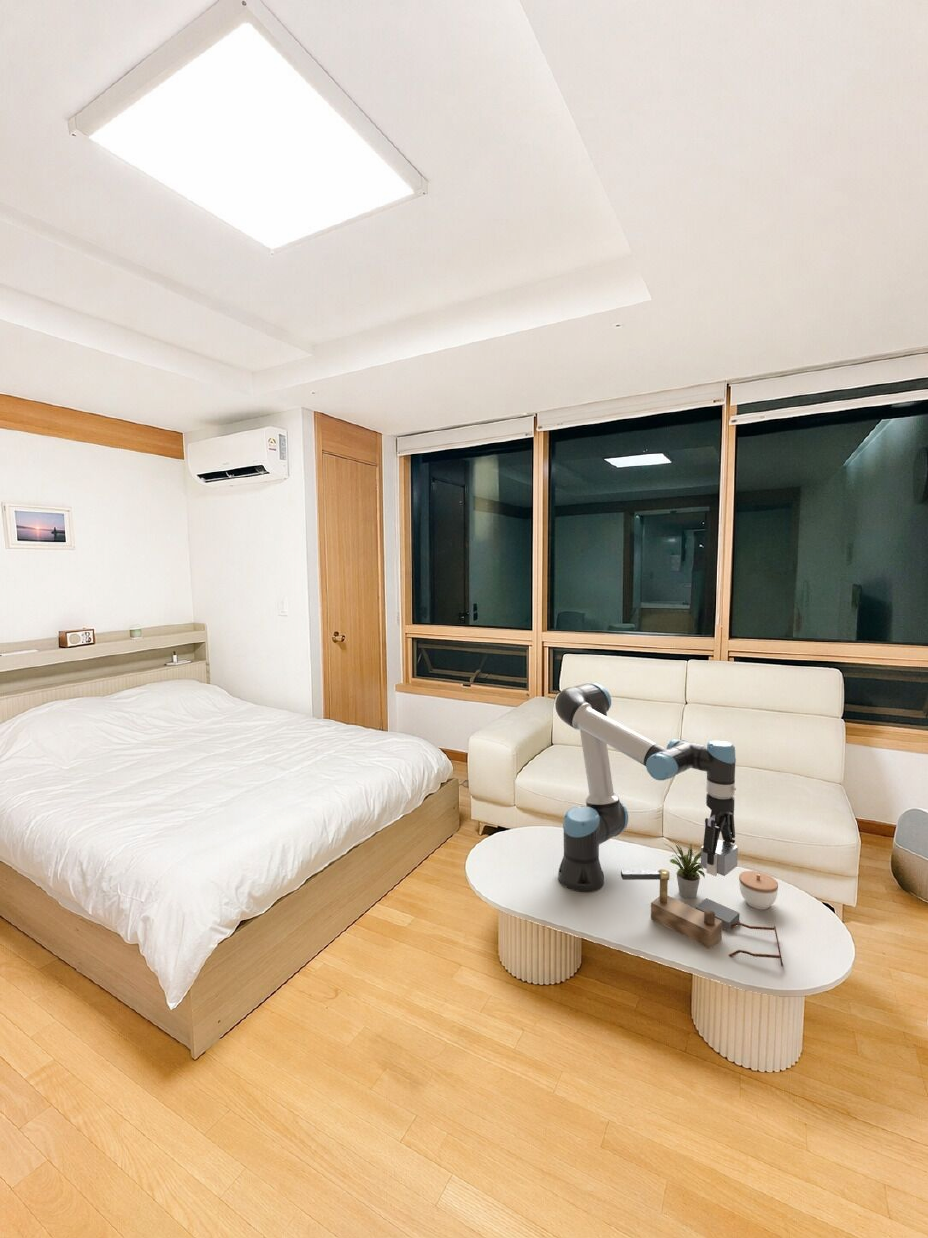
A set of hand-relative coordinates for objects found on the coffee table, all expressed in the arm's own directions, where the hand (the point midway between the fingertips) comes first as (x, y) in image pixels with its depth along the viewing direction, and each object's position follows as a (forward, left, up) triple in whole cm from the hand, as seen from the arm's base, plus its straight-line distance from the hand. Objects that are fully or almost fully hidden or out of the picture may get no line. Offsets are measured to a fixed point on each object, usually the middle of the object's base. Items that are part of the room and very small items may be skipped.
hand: (718, 868), depth 164 cm
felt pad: (0, 0, -16) cm, 16 cm away
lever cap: (0, 0, +1) cm, 1 cm away
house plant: (-13, +4, -16) cm, 21 cm away
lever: (-15, -16, -3) cm, 22 cm away
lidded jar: (+5, +16, -16) cm, 23 cm away
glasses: (+12, -5, -16) cm, 21 cm away
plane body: (-4, -12, -16) cm, 20 cm away
